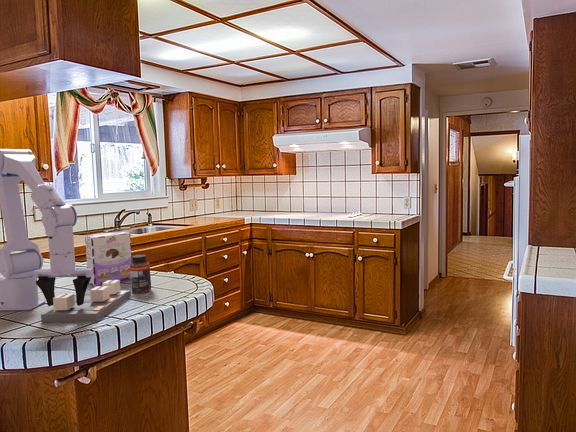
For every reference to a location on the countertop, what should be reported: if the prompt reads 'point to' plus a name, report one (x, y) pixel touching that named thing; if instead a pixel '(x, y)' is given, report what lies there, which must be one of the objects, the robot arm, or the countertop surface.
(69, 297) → the slotted white cube
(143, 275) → the supplement bottle
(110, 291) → the knob
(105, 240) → the candy box
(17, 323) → the countertop surface
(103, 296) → the knob
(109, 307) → the panel
